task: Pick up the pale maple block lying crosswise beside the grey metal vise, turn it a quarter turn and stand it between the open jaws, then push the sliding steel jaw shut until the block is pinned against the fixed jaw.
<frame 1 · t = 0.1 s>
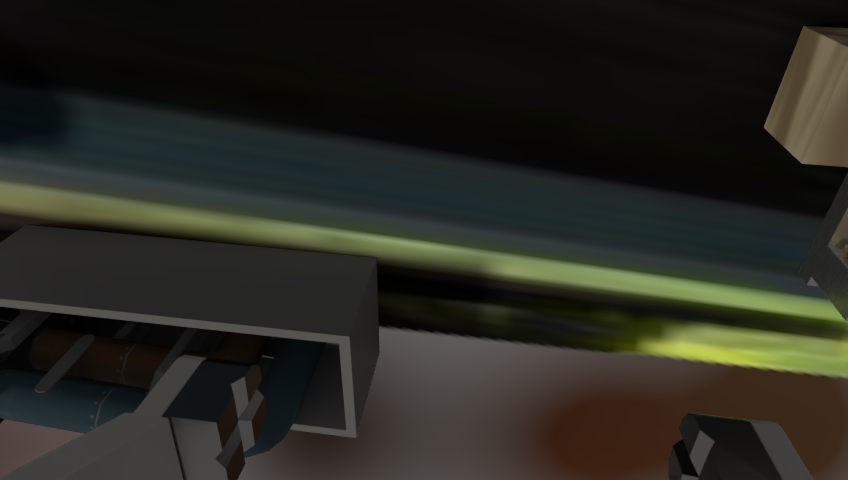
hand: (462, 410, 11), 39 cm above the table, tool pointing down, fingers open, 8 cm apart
maple block: (809, 80, 43), on the table
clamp: (213, 302, 65), resting in tool tote
tool tote: (208, 290, 63), on the table
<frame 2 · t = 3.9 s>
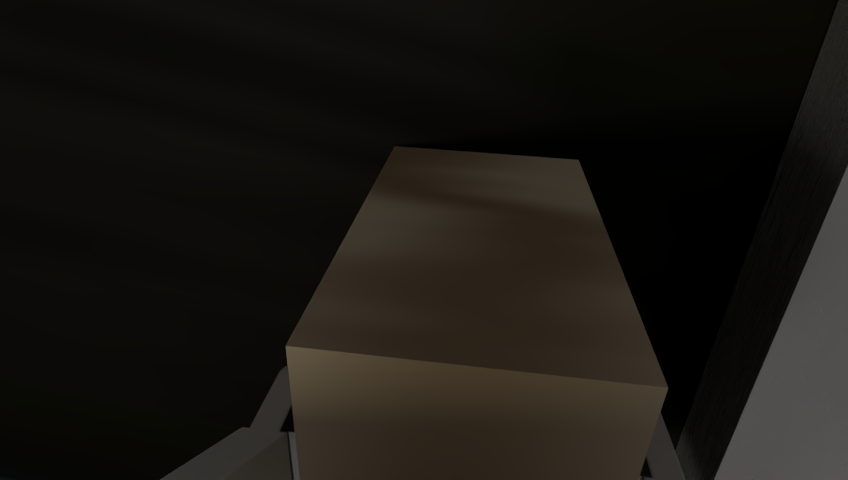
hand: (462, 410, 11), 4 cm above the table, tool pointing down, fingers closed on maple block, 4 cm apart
maple block: (471, 304, 14), on the table, touching gripper
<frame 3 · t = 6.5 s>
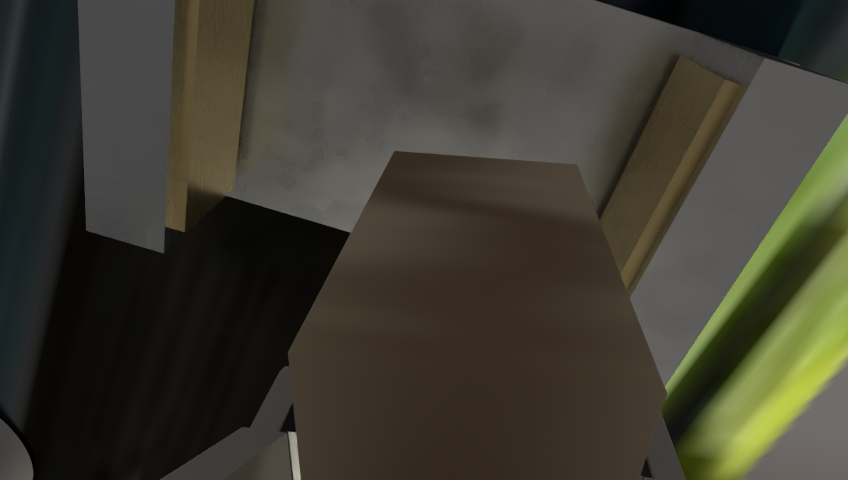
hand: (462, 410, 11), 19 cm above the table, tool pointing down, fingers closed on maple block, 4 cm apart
maple block: (470, 308, 14), point 16 cm above the table, touching gripper
vise base: (420, 107, 27), on the table
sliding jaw: (175, 69, 23), point 5 cm above the table, slide at 0.0 cm
when the fingers open (7 cm above the table, at t = 9.1 s): maple block drops 1 cm, resting on vise base.
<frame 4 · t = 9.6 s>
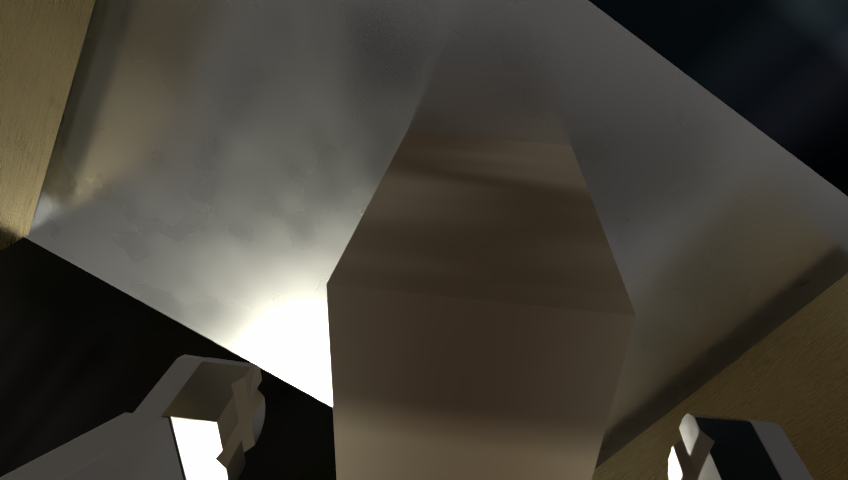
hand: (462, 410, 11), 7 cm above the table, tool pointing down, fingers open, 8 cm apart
maple block: (474, 278, 15), point 2 cm above the table, touching vise base
vise base: (395, 188, 16), on the table
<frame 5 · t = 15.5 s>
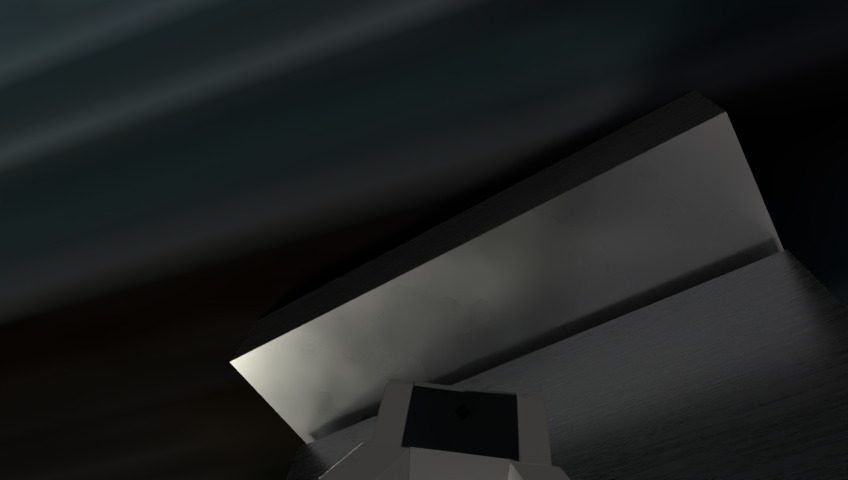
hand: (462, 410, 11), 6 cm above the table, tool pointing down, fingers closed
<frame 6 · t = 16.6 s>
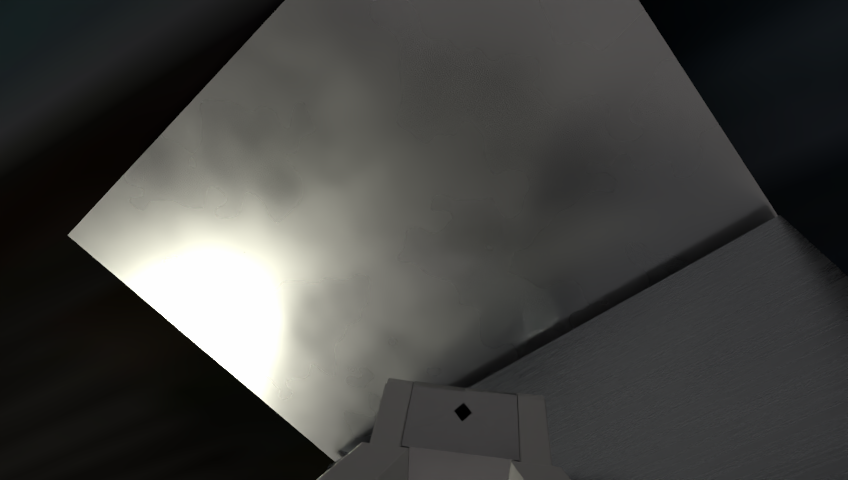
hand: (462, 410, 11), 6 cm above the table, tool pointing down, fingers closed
vise base: (604, 417, 18), on the table
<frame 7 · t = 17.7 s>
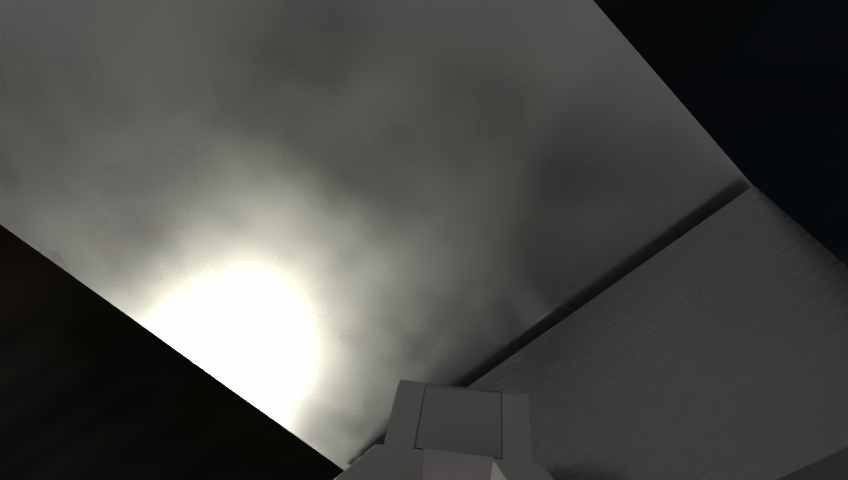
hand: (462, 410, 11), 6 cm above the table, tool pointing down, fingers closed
vise base: (502, 308, 16), on the table
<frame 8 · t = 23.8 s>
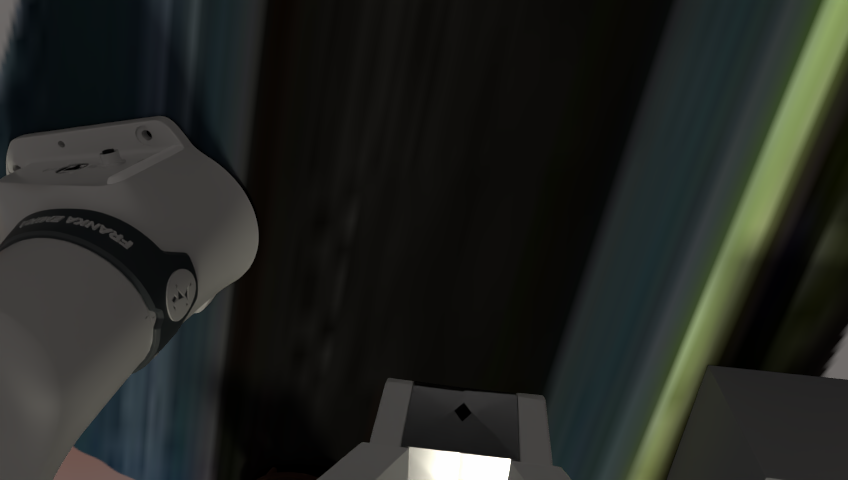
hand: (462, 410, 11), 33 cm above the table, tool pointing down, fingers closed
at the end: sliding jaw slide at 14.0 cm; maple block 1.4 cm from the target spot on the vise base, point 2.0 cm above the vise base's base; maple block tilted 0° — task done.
